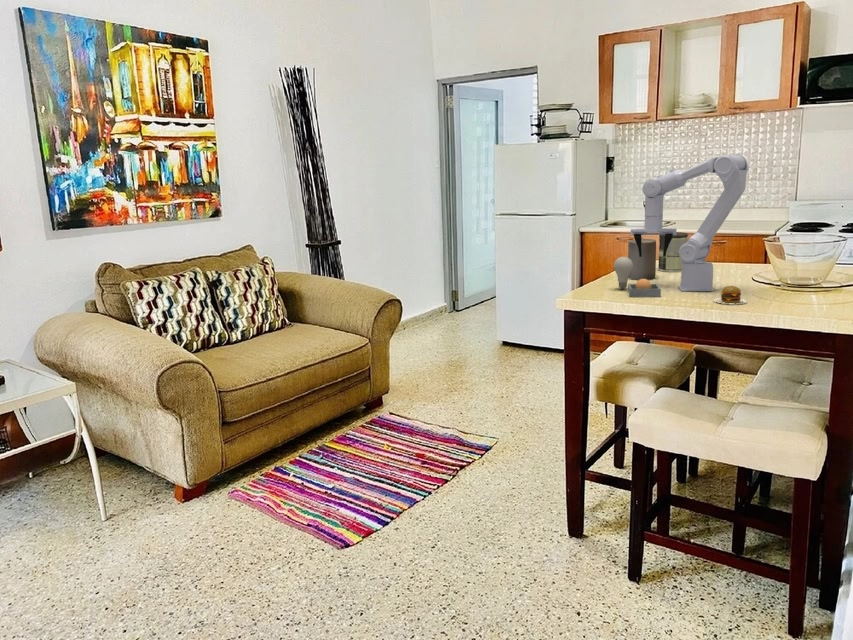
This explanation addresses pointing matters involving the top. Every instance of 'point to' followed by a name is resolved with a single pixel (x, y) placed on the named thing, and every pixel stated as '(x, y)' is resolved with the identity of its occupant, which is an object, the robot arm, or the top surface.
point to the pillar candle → (642, 259)
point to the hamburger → (730, 295)
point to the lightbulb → (623, 270)
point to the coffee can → (671, 253)
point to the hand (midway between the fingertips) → (652, 256)
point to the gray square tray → (644, 291)
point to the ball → (643, 284)
